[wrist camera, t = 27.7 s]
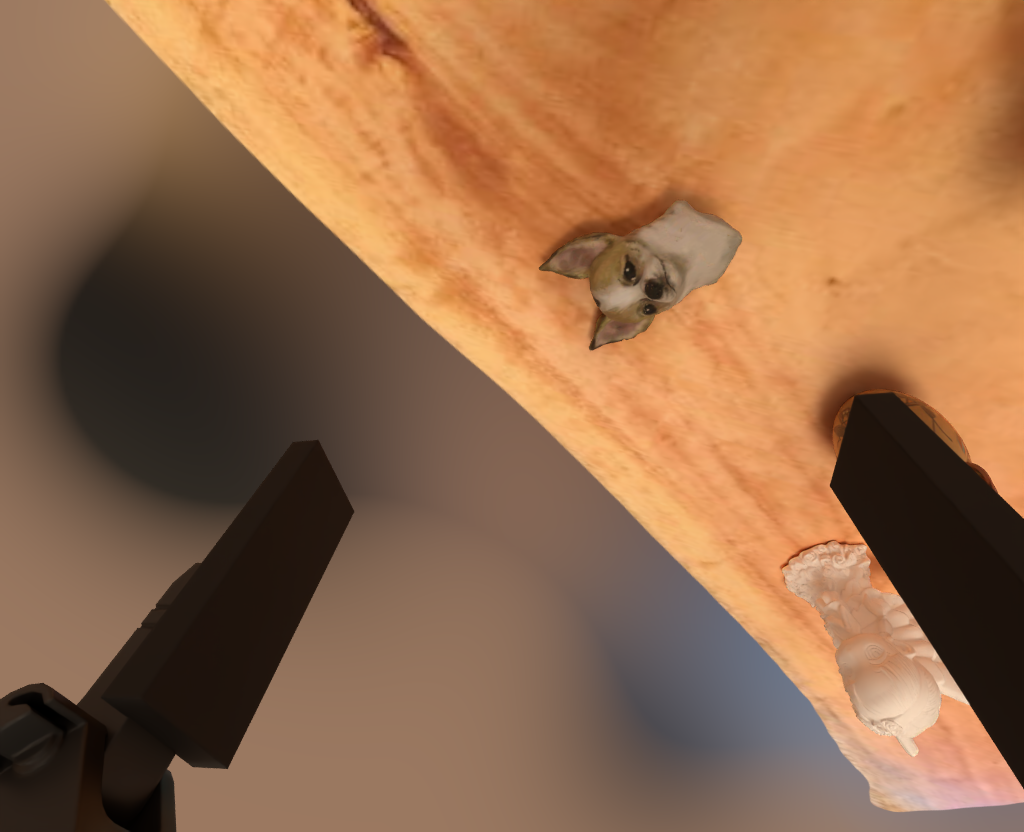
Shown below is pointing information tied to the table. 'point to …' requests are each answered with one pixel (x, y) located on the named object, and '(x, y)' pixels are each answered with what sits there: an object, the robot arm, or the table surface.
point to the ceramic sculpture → (647, 267)
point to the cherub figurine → (873, 643)
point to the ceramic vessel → (925, 414)
